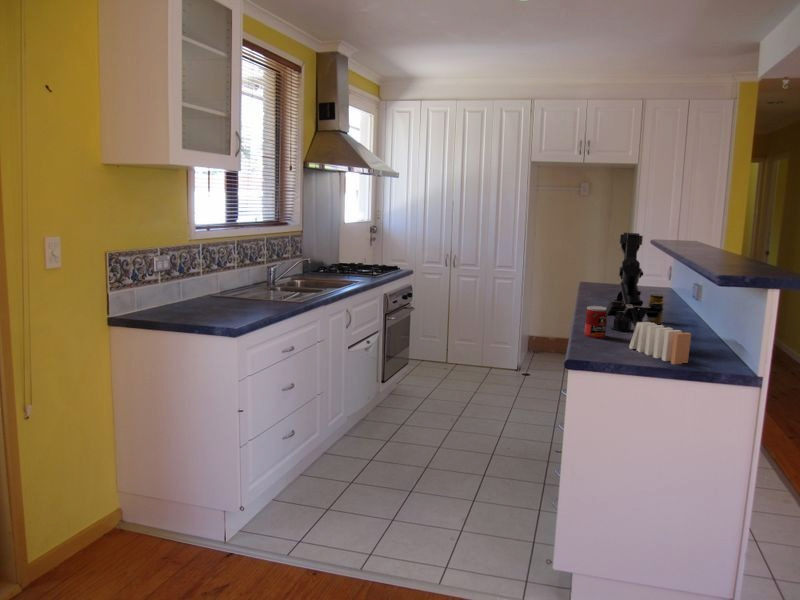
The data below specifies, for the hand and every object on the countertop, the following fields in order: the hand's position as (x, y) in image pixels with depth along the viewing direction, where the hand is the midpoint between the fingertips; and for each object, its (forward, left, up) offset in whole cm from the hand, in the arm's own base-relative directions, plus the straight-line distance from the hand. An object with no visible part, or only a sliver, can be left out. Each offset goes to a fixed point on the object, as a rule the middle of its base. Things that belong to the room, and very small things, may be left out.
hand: (639, 329), depth 231 cm
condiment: (-48, -37, -7) cm, 61 cm away
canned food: (-1, -22, -7) cm, 23 cm away
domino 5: (+1, +15, -7) cm, 17 cm away
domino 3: (0, +7, -7) cm, 10 cm away
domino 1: (-1, -1, -7) cm, 7 cm away
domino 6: (+1, +19, -7) cm, 20 cm away
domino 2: (0, +3, -7) cm, 8 cm away
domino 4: (0, +11, -7) cm, 13 cm away
